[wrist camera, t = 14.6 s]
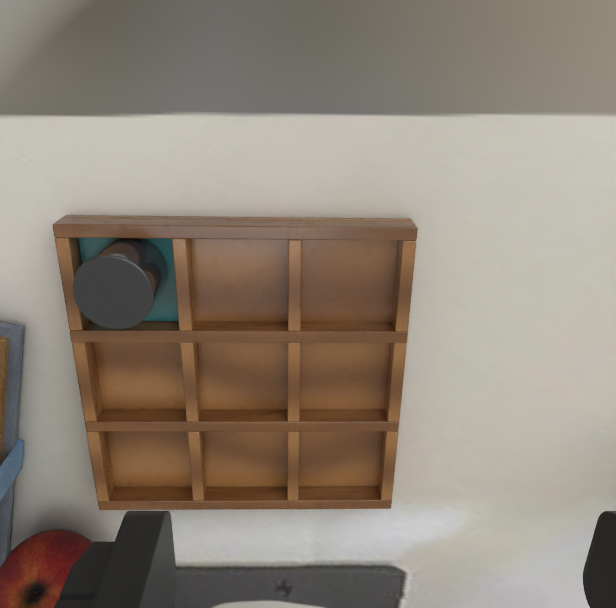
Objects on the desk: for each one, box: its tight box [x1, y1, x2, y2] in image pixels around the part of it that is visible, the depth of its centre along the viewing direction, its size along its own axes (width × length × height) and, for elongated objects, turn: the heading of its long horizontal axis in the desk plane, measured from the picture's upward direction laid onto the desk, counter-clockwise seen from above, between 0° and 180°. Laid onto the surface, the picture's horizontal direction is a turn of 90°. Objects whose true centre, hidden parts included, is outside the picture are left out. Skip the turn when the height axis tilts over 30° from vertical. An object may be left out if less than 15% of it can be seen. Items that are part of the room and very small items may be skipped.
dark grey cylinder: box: [73, 238, 168, 329], centre depth 33 cm, size 4×4×4 cm
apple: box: [0, 530, 93, 608], centre depth 41 cm, size 7×8×8 cm
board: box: [53, 215, 417, 510], centre depth 38 cm, size 21×21×2 cm
